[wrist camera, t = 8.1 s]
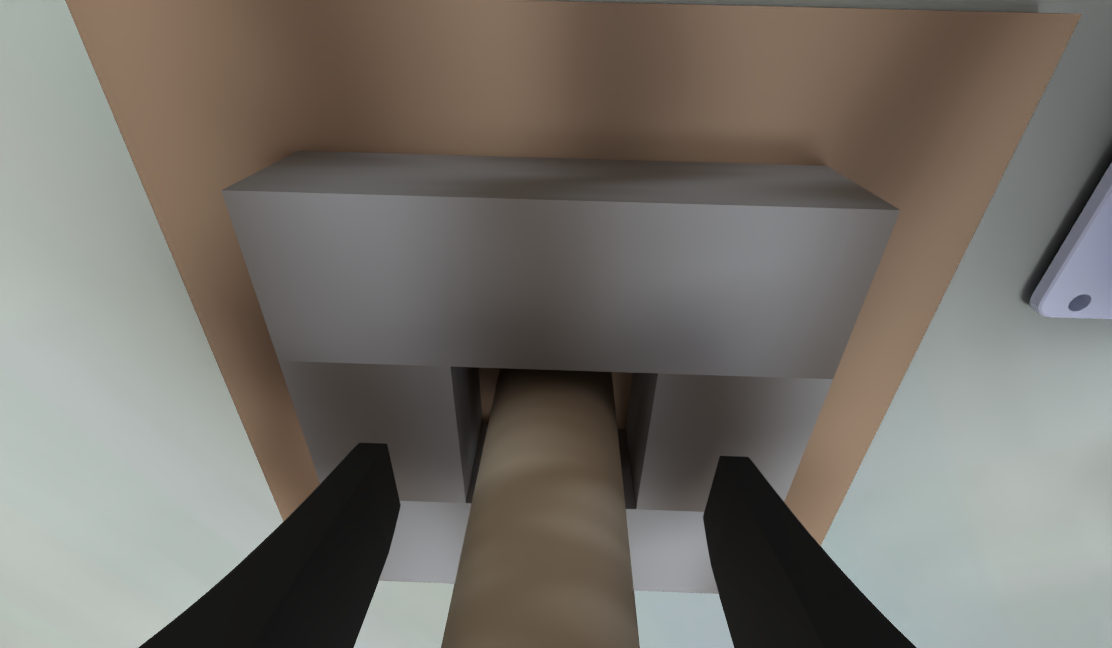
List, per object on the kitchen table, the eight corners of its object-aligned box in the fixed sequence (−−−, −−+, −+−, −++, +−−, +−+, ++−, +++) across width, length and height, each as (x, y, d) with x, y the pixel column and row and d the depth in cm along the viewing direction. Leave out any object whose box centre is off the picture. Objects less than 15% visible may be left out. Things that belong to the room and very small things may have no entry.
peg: (615, 325, 14) (681, 838, 5) (607, 413, 15) (646, 907, 7) (499, 321, 14) (376, 823, 5) (503, 409, 15) (415, 894, 7)
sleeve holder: (1040, 14, 10) (1265, 14, 7) (800, 541, 20) (847, 649, 17) (100, -10, 11) (-117, -20, 7) (305, 523, 20) (252, 626, 17)
